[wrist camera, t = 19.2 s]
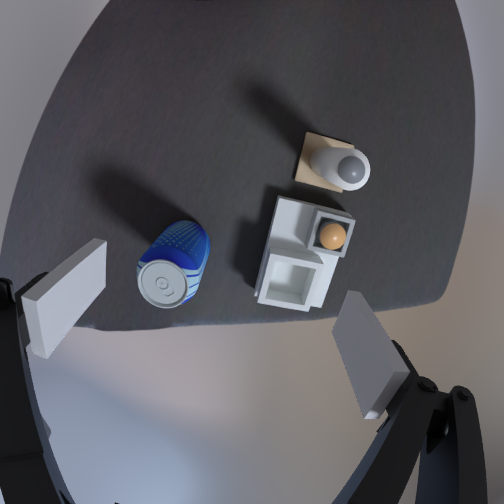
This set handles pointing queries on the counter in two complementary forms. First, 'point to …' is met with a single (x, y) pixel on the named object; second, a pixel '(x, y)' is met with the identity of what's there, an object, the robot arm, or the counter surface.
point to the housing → (298, 255)
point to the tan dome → (331, 234)
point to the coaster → (309, 147)
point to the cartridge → (341, 166)
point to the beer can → (173, 265)
